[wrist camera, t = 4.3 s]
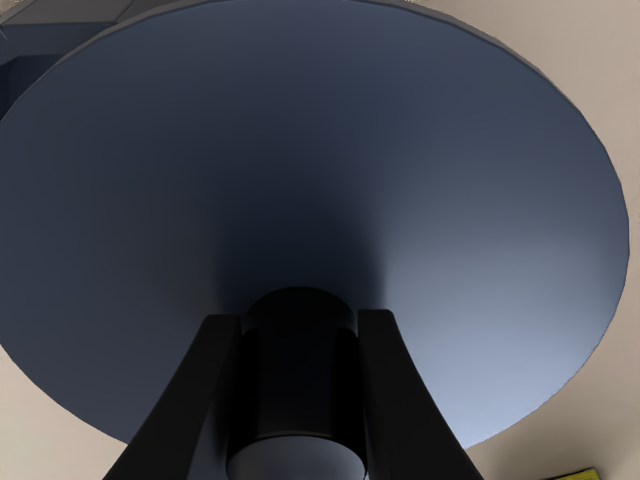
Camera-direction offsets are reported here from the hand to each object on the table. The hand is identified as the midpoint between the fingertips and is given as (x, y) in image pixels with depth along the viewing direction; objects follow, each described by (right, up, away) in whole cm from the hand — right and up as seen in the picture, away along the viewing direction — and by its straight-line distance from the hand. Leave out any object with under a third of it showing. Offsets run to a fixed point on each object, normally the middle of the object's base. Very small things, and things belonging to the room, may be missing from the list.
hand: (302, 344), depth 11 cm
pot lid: (0, +1, +1) cm, 1 cm away
